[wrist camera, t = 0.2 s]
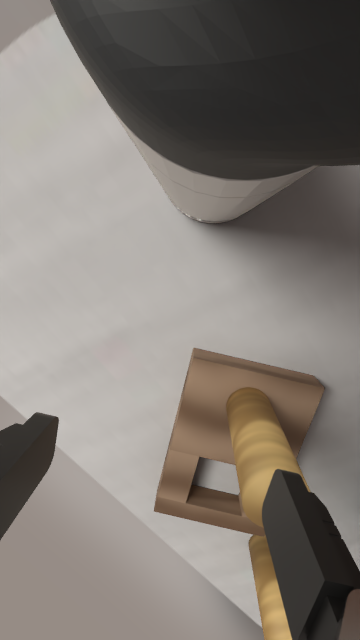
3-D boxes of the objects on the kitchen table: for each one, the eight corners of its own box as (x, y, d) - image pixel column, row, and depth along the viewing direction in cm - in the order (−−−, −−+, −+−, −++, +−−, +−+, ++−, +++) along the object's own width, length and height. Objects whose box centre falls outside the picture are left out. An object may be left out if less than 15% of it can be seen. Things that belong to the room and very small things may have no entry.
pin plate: (193, 347, 28) (190, 429, 15) (313, 375, 28) (404, 478, 15) (157, 491, 32) (132, 638, 20) (259, 515, 32) (295, 676, 20)
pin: (254, 527, 33) (277, 645, 23) (287, 535, 33) (324, 656, 23) (244, 552, 34) (262, 675, 24) (277, 560, 34) (308, 685, 24)
